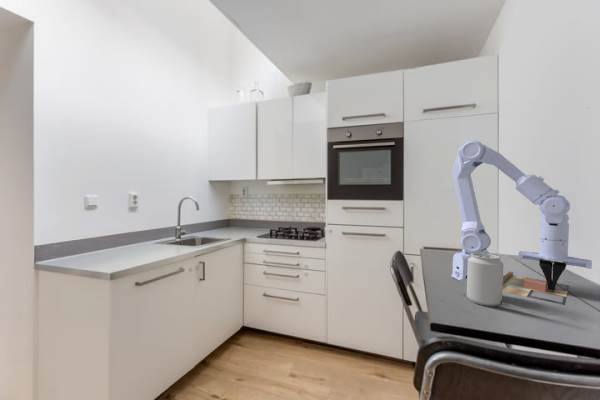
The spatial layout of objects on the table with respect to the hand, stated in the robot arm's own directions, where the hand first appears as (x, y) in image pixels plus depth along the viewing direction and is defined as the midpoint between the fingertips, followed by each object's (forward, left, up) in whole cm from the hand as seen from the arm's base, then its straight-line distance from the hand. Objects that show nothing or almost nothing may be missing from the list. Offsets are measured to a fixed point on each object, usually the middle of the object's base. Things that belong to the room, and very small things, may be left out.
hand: (551, 289), depth 75 cm
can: (-22, -5, -2) cm, 22 cm away
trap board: (-3, +3, -2) cm, 4 cm away
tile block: (-2, +2, 0) cm, 3 cm away
